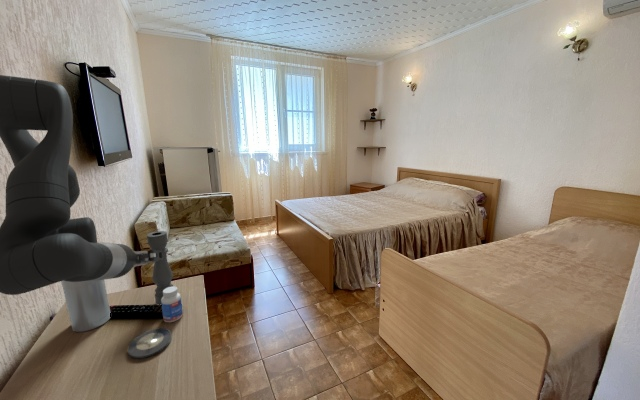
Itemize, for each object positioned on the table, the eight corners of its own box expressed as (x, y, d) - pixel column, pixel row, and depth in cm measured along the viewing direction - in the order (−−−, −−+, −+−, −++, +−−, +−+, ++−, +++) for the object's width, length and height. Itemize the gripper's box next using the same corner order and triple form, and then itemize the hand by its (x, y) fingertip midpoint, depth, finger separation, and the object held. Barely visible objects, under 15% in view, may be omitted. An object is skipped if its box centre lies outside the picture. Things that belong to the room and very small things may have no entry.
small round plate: (119, 353, 69) (118, 349, 68) (153, 328, 78) (153, 325, 78) (146, 363, 66) (146, 359, 65) (179, 336, 75) (179, 332, 74)
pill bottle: (174, 324, 80) (170, 295, 78) (159, 321, 81) (155, 293, 79) (186, 313, 85) (183, 286, 83) (172, 310, 86) (168, 284, 84)
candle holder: (161, 296, 95) (151, 231, 89) (179, 295, 95) (170, 230, 90) (152, 306, 89) (141, 237, 83) (171, 305, 89) (162, 236, 84)
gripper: (142, 237, 57) (168, 241, 72) (64, 249, 53) (108, 251, 69) (145, 272, 55) (170, 268, 71) (64, 287, 52) (109, 280, 67)
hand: (139, 260), depth 70 cm, fingers open, 8 cm apart
